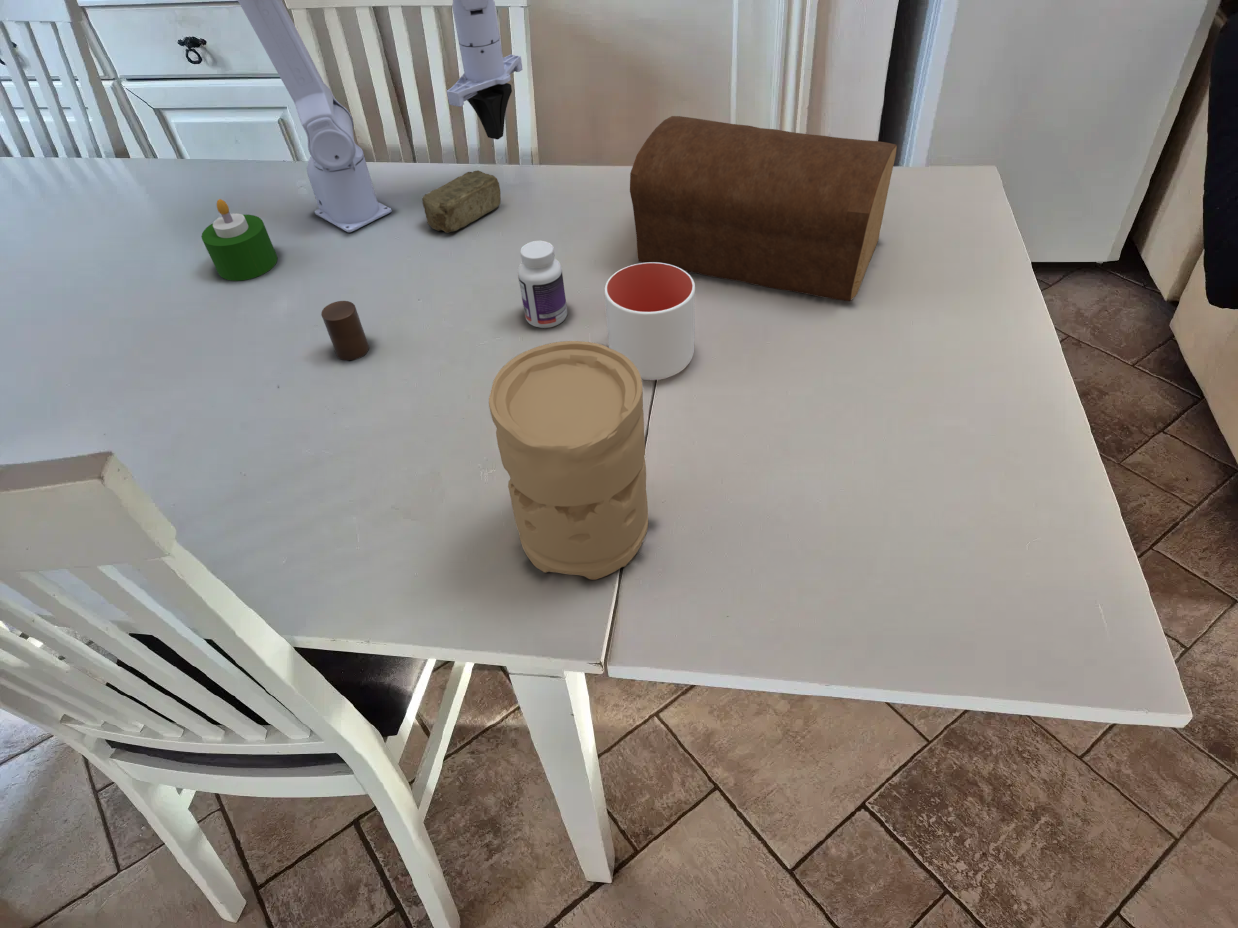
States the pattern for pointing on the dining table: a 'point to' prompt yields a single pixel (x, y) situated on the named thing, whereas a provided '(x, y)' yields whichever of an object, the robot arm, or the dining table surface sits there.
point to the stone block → (461, 201)
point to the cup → (652, 317)
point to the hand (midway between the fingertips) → (495, 136)
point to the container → (574, 455)
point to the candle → (239, 245)
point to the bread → (761, 204)
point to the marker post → (345, 330)
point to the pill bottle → (541, 285)
